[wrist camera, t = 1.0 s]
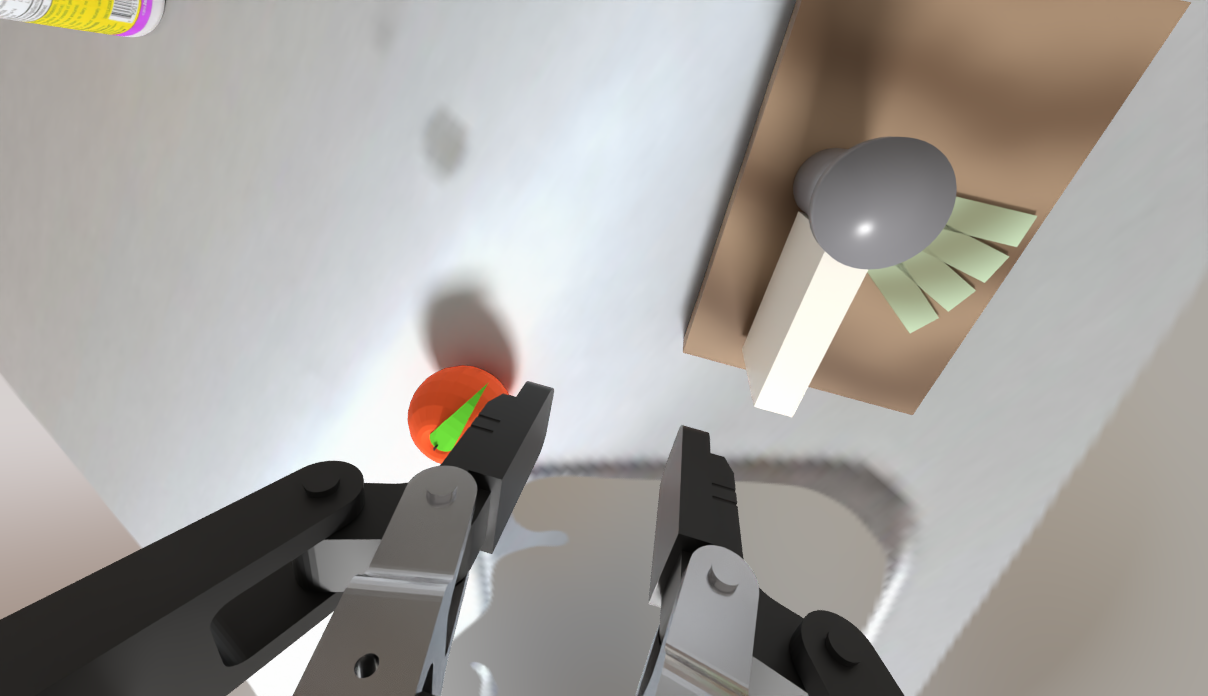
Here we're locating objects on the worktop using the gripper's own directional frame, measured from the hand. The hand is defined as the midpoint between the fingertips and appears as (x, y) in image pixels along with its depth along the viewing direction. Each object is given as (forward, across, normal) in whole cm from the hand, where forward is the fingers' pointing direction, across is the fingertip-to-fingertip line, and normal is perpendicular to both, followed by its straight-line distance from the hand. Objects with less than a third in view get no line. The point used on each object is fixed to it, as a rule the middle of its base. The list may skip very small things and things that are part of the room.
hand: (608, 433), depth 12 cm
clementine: (+17, +10, +12) cm, 24 cm away
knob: (+15, -7, -3) cm, 17 cm away
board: (+17, -10, -6) cm, 21 cm away
